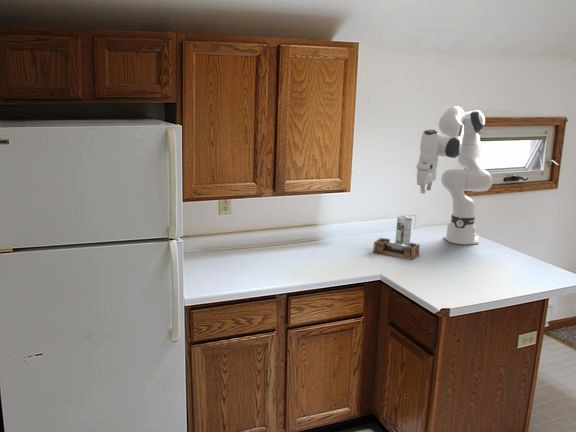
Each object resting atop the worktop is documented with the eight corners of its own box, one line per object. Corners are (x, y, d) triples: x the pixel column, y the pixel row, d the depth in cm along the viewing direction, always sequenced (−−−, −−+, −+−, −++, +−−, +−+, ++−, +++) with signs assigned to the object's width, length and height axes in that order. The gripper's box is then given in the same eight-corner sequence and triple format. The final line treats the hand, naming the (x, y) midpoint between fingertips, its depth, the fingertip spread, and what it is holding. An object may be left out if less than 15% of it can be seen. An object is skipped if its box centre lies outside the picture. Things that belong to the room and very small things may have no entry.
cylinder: (384, 248, 293) (385, 240, 292) (411, 253, 286) (412, 245, 286) (381, 249, 290) (382, 241, 289) (408, 254, 283) (409, 246, 282)
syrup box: (394, 242, 308) (396, 215, 305) (404, 241, 311) (406, 215, 307) (401, 245, 303) (403, 218, 300) (410, 244, 306) (412, 217, 302)
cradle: (380, 248, 297) (381, 237, 296) (419, 254, 288) (420, 244, 286) (373, 252, 289) (373, 242, 288) (412, 260, 279) (413, 249, 278)
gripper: (428, 160, 292) (425, 187, 295) (415, 165, 274) (413, 194, 278) (440, 162, 289) (438, 189, 292) (428, 167, 271) (426, 195, 275)
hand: (425, 191), depth 285 cm, fingers open, 8 cm apart
